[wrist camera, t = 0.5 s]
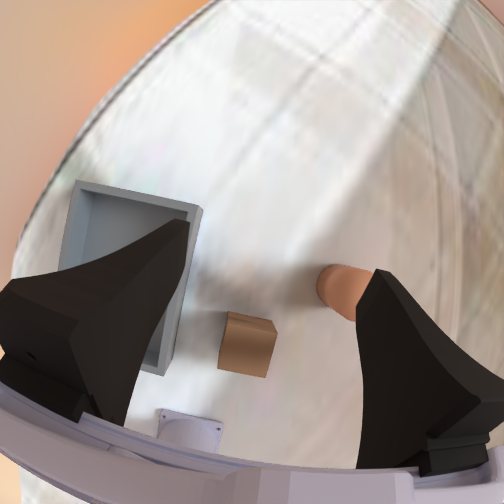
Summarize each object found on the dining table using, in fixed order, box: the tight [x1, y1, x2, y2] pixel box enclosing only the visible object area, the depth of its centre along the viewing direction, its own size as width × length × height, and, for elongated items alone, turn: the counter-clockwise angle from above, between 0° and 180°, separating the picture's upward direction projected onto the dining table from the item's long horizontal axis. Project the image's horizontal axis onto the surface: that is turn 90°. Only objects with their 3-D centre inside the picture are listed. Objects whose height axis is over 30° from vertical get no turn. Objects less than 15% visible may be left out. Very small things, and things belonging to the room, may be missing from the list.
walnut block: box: [217, 311, 278, 378], centre depth 33 cm, size 5×5×5 cm
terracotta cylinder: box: [317, 264, 373, 322], centre depth 32 cm, size 5×5×7 cm
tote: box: [58, 180, 203, 376], centre depth 31 cm, size 18×14×5 cm
